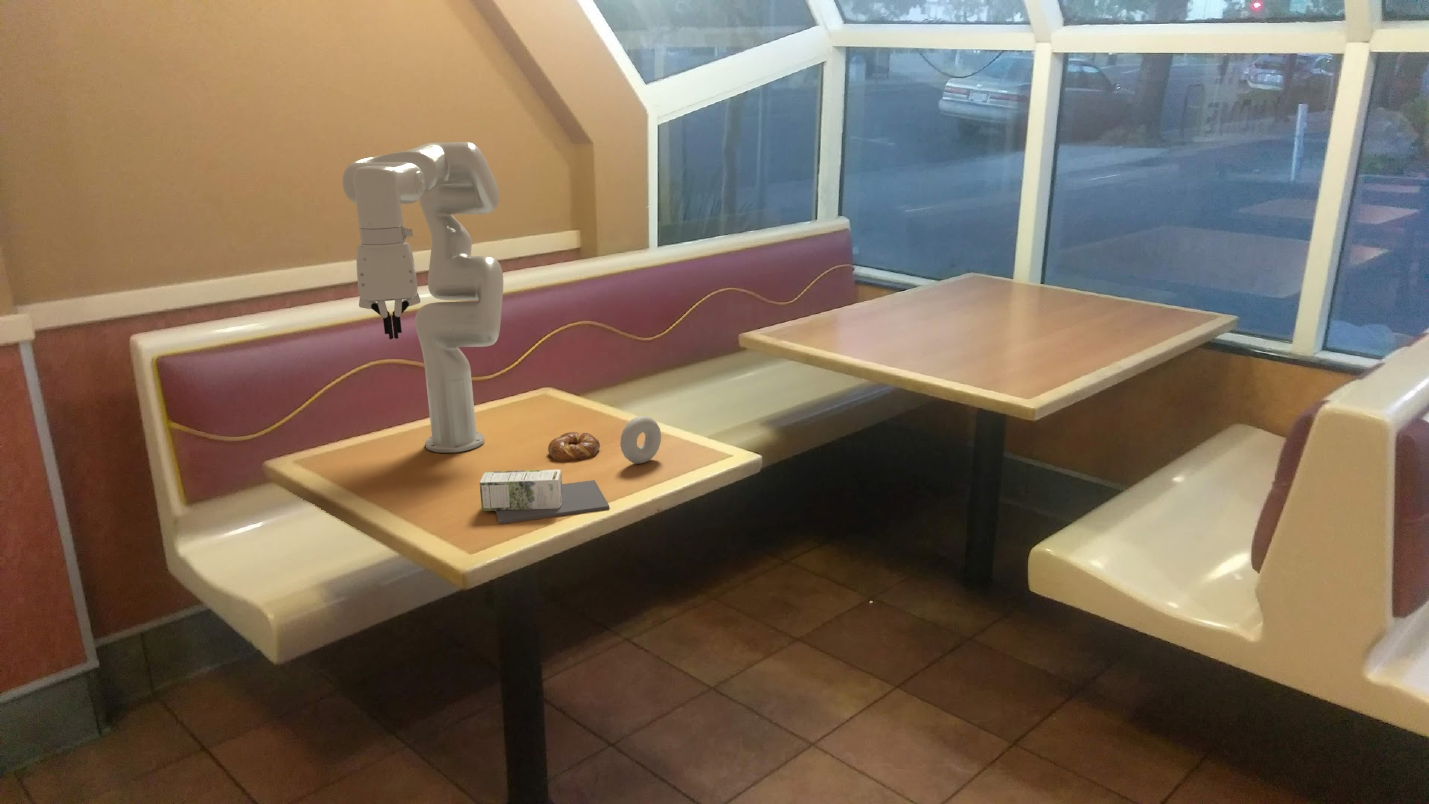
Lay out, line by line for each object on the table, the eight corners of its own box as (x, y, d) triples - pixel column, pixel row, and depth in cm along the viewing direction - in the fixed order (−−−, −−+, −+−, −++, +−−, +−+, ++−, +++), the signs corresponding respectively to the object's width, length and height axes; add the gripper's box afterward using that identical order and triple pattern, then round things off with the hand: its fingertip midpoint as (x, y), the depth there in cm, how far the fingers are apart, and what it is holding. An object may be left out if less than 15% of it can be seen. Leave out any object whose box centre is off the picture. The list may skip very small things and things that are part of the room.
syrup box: (486, 500, 189) (564, 496, 190) (481, 512, 184) (561, 508, 184) (483, 471, 188) (562, 468, 189) (478, 482, 182) (559, 479, 183)
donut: (654, 454, 213) (652, 409, 211) (665, 458, 211) (663, 412, 208) (617, 466, 207) (615, 420, 204) (628, 471, 204) (626, 424, 202)
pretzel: (576, 467, 208) (575, 450, 207) (536, 458, 214) (534, 442, 213) (611, 449, 218) (610, 433, 217) (571, 441, 223) (570, 425, 222)
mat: (491, 496, 193) (491, 493, 192) (594, 482, 198) (594, 480, 198) (499, 524, 180) (499, 520, 180) (609, 508, 186) (609, 505, 185)
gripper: (425, 232, 185) (434, 329, 191) (338, 236, 181) (351, 336, 186) (426, 237, 178) (436, 338, 184) (337, 242, 174) (350, 345, 180)
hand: (393, 337), depth 185 cm, fingers closed
